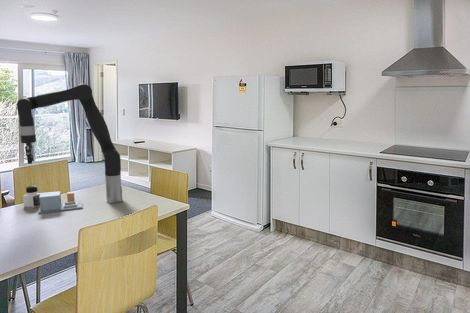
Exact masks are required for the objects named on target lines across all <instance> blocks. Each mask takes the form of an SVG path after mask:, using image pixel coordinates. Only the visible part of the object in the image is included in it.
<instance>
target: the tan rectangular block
mask: <svg viewBox="0 0 470 313" xmlns="http://www.w3.org/2000/svg"><path fill="white" fill-rule="evenodd" d="M66 199H67V202H75V201H76V200H75V192H74V191H66Z"/></svg>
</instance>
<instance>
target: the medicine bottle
mask: <svg viewBox="0 0 470 313" xmlns="http://www.w3.org/2000/svg"><path fill="white" fill-rule="evenodd" d="M25 190H26V194H24V195H22V199H23V207H24V208H37V207H40V200H39V196H40V193H41V192H39V191H38V186H37V185H29V186H27V187H25Z"/></svg>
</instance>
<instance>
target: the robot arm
mask: <svg viewBox="0 0 470 313" xmlns="http://www.w3.org/2000/svg"><path fill="white" fill-rule="evenodd" d="M74 100H79V102H80V104H81V105H82V108H83V110H84V114H85V117H86V120H87V122H88V126H89V127H90V130H91V132H92V134H93V136H94V137H95V139H96V141H97V142H98V144H99V146H100V149H101V151H102V155H103V159H104V176H105V178H104V179H105V193H106V196H105V197H106V203H108V204H116V203H121V202H123V186H122V178H121V177H122V176H121V175H122V172H121V171H122V167H121V166H122V165H121V164H122V162H121V161H122V160H121V154H120V153H119V151H118V150H117V149H116V147H115V145H114V143H113V141H112V138H111V134H110V131H109V128H108V125H107V122H106V121H105V120H106V119H105V118H104V116H103V114H102V113H101V111H100V109H99V108H98V106H97V104H96V102H95V99H94V96H93V88H91V86H90V85H88V84H86V83H80V84H78V85H76V86H73V87H71V88H68V89H64V90H60V91H59V90H58V91H53V92H46V93H41V94H37V95H36V96H29V97H23V98H20V99H18V100H17V103H16V109H17V114H18V117H19V118H18V119H19V120H18V121H19V136H20V143H22V144H25V145H24V149H25V150H24V151H25V157H26V160H27V164H28V165H29V164H31V165H32V164H33V162H34V152H35V151H34V145H33V144H34V143H36V142H37V135H36V129H35V128H36V127H35V121H34V116H33V110H35V109H38V108H45V107H46V108H47V107H50V106H51V107H52V106H54V105H55V106H56V105H58V104H61V103H65V102H69V101H74Z"/></svg>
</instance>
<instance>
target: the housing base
mask: <svg viewBox="0 0 470 313" xmlns="http://www.w3.org/2000/svg"><path fill="white" fill-rule="evenodd" d="M81 209H83V202H82V201H76V200H75V202H68V201H67V202H63V203H61V209H55V210H47V211H40V207H38V213H37V214H38V215H40V214H49V213H57V212H58V211H59V212H65V211H67V212H68V211H73V210H81Z"/></svg>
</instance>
